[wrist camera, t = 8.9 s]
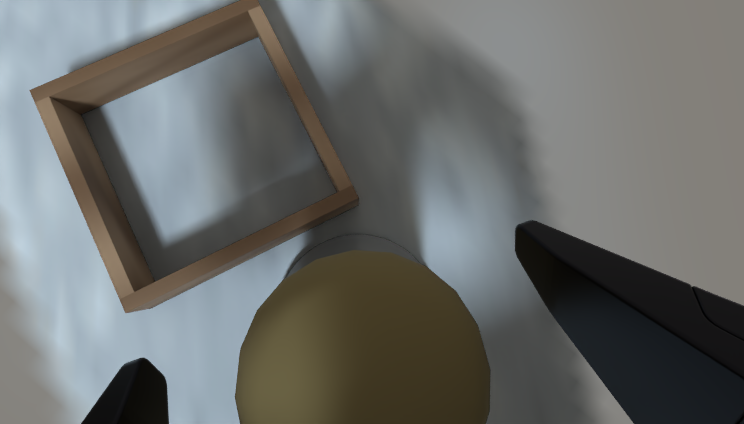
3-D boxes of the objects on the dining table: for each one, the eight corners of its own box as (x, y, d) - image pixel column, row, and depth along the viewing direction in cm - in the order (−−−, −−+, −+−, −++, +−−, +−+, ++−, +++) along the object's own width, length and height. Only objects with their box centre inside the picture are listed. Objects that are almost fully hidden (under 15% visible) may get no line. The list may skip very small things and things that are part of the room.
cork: (365, 222, 18) (381, 155, 8) (456, 325, 18) (612, 412, 7) (261, 313, 18) (110, 384, 7) (352, 423, 17) (347, 689, 6)
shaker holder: (358, 205, 19) (358, 197, 17) (151, 308, 18) (125, 313, 16) (264, 21, 20) (254, -6, 18) (63, 109, 19) (29, 90, 17)
